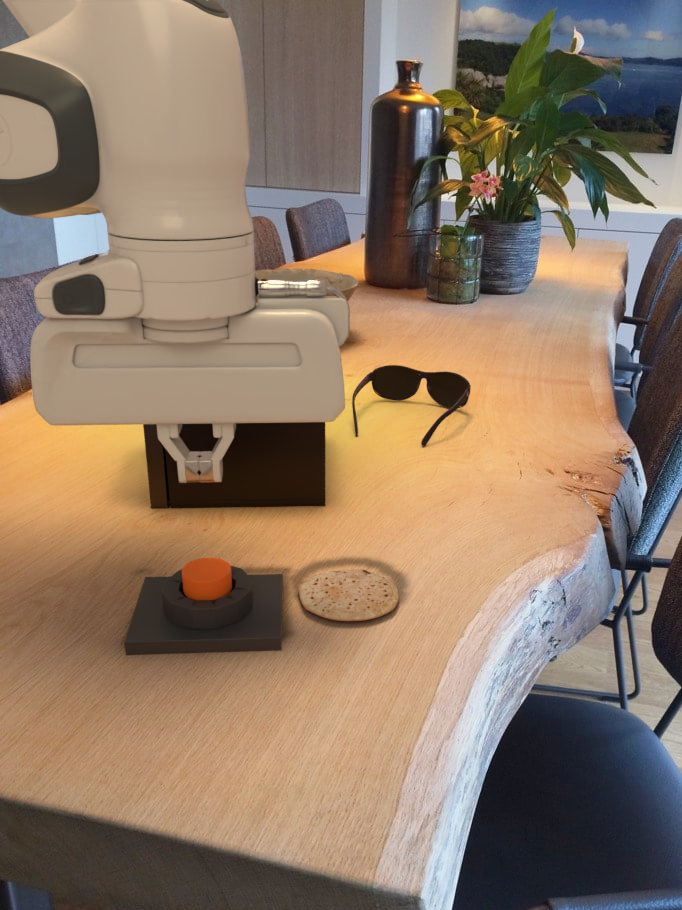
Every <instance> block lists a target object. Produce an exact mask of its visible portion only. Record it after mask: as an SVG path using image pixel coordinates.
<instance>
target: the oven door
mask: <svg viewBox="0 0 682 910" xmlns="http://www.w3.org/2000/svg"><path fill="white" fill-rule="evenodd" d="M142 426H143V427H142V428H143V436H144V447H145V459H146V470H147V481H148V491H149V502H150V509H168V508H169V506H170V498H169V487H168V476H167V465H166V454H165V447H164V446H163V445H162V443H161V442H160V441H159V439H158V434H157V424H142Z"/></svg>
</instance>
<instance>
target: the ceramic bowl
mask: <svg viewBox="0 0 682 910" xmlns="http://www.w3.org/2000/svg"><path fill="white" fill-rule="evenodd" d="M255 277H257V279H285V280H290V281H291V280H293V281H306V280H307V279H318V280H324V281H326V285H327V286H331V287H334V288H336V289H338V290H339V291H341V292H342V293H343V294H344V296H345V297H346V299H347V301H348V302H349V301H350V299H351V298H352V296H353V295H354V293H355V291H356V290H357V288H358V286H359V281H358V280H357V278H356V277H354V276H353V275H350V274H344V273H342V272H335V271H330V270H324V269H316V268H315V269H314V268H304V269H303V268H275V269H274V270H273V269H272V268H271V269H257V270H256V276H255ZM258 296H259V295H257V303H258ZM326 296H336V295H334V294H332V293H329V292H327V294H326Z"/></svg>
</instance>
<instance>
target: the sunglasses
mask: <svg viewBox="0 0 682 910" xmlns="http://www.w3.org/2000/svg"><path fill="white" fill-rule="evenodd" d="M423 379H424V380H426V391H427V393H428V395H429V396H430V398H431V399H432V400H433V401H434V402H435V403H436V404H438V406H441V407H444V408H448V409H447V410H446V411H445V412H443V413H442V414H441V415H440V416H439V417H438V418H437V419H436V420H435V421H434V423H433V424H432V425H431V426H430V428H429V429H428V430H427V432H426V434H424V436H423V438H422V439H421V442H420V443H421V446H422V447H426V446H427V445H428V443H429V441H430V440H431V438H432V437H433V435H434V433H435V431H436V430H437V429H438V427H439V426H440V424H441V423H443V421H444V420H446V419H447V418H448V417H449V416H450V415H452V414H453V413H454V412H456V411H457V410H458V409H460V408H463V407H465V406H466V405H467V403H468V402H469V397H470V394H471V387H472V385H471V384H470V381H469V380H468V379H467V378H466V377H465V376H463V375H461V374H459V373H457V372H453V371H422V370H418V369H415V368H411V367H409V366H404V365H398V364H388V365H382V366H379V367H376V368H375V369H373V371H371V372H368V374H366V376H365V377H364V378H363V379H362V380H361V381H360V382H359V383H358V384H357V386H356V387H355V389H354V391H353V393H352V396H351V397H352V399H351V407H352V416H353V417H352V418H353V425H354V433H355V434H354V435H355V437H358V436H359V425H358V417H357V411H356V397H357V396H358V394H359V393H360V392H361V390H362V389H363V388H364V387H365V386H367V385H368V384H369V383H370V382H371V387H372V390H373V392H374V393H375V395H377V396H378V397H380V398H382V399H385V400H390V401H396V402H397V401H399V402H400V401H405V400H408V399H411V398H412V397H414V396H415V395H416V394H417V393H418V391H419V389H420V386H421V383H422V380H423Z"/></svg>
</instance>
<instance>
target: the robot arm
mask: <svg viewBox="0 0 682 910" xmlns="http://www.w3.org/2000/svg"><path fill="white" fill-rule="evenodd" d="M2 2H3V4H5V6H6V7H7V9H8V10H9V11H10V13H11V14H12V15H13V17H14V18H15V20H16V21H17V23H18V24H19V25H20V26H21V28H22V29H23V31H24V32H25V33H26V35H27V36H28V37H27V38H26V39H23V40H20V41H18V42H16V43H13V44H11V45H8V46H6V47H2V48H0V209H2V210H3V211H5V212H7V213H9V214H12V215H16V216H21V217H28V218H29V217H30V218H34V219H43V220H44V219H58V218H66V217H67V218H68V217H75V216H90V215H97V214H102V215H103V217H104V220H105V223H106V232H107V240H108V248H109V249H108V250H107V252H103V253H100V254H97V253H96V254H92V255H89V256H86V257H83V258H82V259H81V260H77V261H75V262H72V263H71V262H70V263H68V264H66V265H63V266H61V267H59V268H57V269H55V270H53V271H51V272H50V273H48V274H46V276H44V277H43V278H42V279H41V280H39V282H38V283H37V284H36V285H35V287H34V289H33V297H34V303H35V307H36V309H37V312H38V313H39V314H40V315H42V316H43V317H45V318H44V319H43V320H41V322H39V324H37V326H36V327H35V329H34V331H33V333H32V336H31V341H30V381H31V390H32V392H31V393H32V399H33V405H34V409H35V411H36V413H37V414H38V415H39V416H40V417H41V418H42V419H43V420H44V421H45V422H46V423H47V424H48V425H50V426H53V427H54V426H55V427H57V426H60V427H61V426H123V425H125V426H129V425H132V426H133V425H136V426H137V425H143V424H157V434H158V439H159V441H160V442H161V443H162V445H163V446H164V447H165V449H166V450H167V451H168V452H169V454H170V455H171V456H172V458H173V459H174V460H175V461H177V468H178V478H179V482H180V483H188V482H222V477H223V463H222V458H223V456H224V455H225V453H226V451H227V449H228V448H229V446H230V444H231V442H232V440H233V439H234V435H235V430H236V423H290V422H325V423H332V422H335V421H336V420H337V419H338V418H339V417H340V416H341V415H342V413H343V412H344V410H345V409H346V396H345V395H346V392H345V378H344V370H343V361H342V356H341V350H340V347H342V346H343V345H344V344H345V343H346V341H347V339H348V337H349V335H350V330H351V307H350V304H349V301H347V299H346V297H345V296H344V294H343V293H342V292H341V291H339V290H338V289H336V288H334V287H331V286H327V285H326V281H324V280H318V279H307V280H306V281H293V280H291V281H290V280H285V279H257V277H255V276H256V271H257V270H256V254H255V253H256V251H255V231H254V229H255V228H254V222H253V221H254V220H253V217H252V214H251V212H250V209H249V205H248V201H247V200H248V199H247V193H246V191H247V190H246V189H247V188H246V181H247V174H248V169H249V165H250V161H251V138H250V121H249V120H250V119H249V107H248V98H247V87H246V78H245V71H244V64H243V57H242V51H241V46H240V42H239V38H238V34H237V31H236V27H235V26H234V25H235V24H234V23H233V20H232V18H231V16H230V14H229V12H228V11H227V10H226V9H225V8H224V7H223V5H221V4H220V3H219V2H218V1H217V0H2ZM327 292H329V293H332V294H334V295H336V296H326V294H327ZM257 295H259V296H258V303H257ZM182 424H212V425H213V436H214V437H215V438H219V439H218V441H217V443H216V445H215V447H214V448H213V450H212V451H189V449H188V448H187V447H186V445H185V444H184V442H183V441H182V439H181V438H180V436H179V434H180V431H181V429H182Z"/></svg>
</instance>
